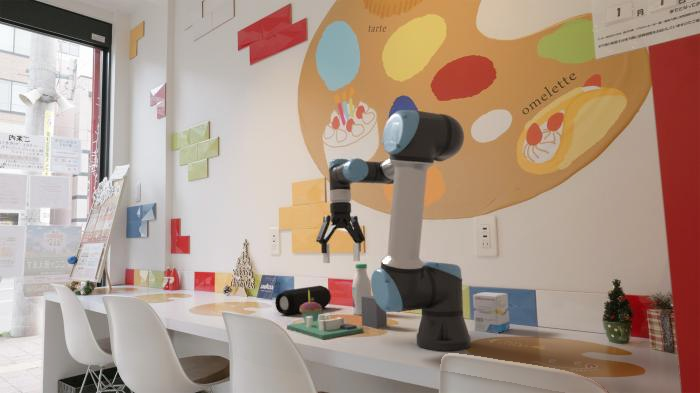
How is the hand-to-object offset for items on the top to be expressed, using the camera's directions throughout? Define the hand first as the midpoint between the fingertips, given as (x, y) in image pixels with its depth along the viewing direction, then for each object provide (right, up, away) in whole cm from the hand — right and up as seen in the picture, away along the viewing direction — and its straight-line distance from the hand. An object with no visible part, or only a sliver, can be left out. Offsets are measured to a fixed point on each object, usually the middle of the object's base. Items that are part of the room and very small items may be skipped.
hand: (342, 262), depth 159 cm
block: (+11, -22, -3) cm, 25 cm away
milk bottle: (+8, -25, +23) cm, 35 cm away
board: (-6, -22, -8) cm, 24 cm away
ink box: (+49, -20, -13) cm, 55 cm away
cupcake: (-12, -24, +10) cm, 28 cm away
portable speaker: (-17, -26, +32) cm, 45 cm away
